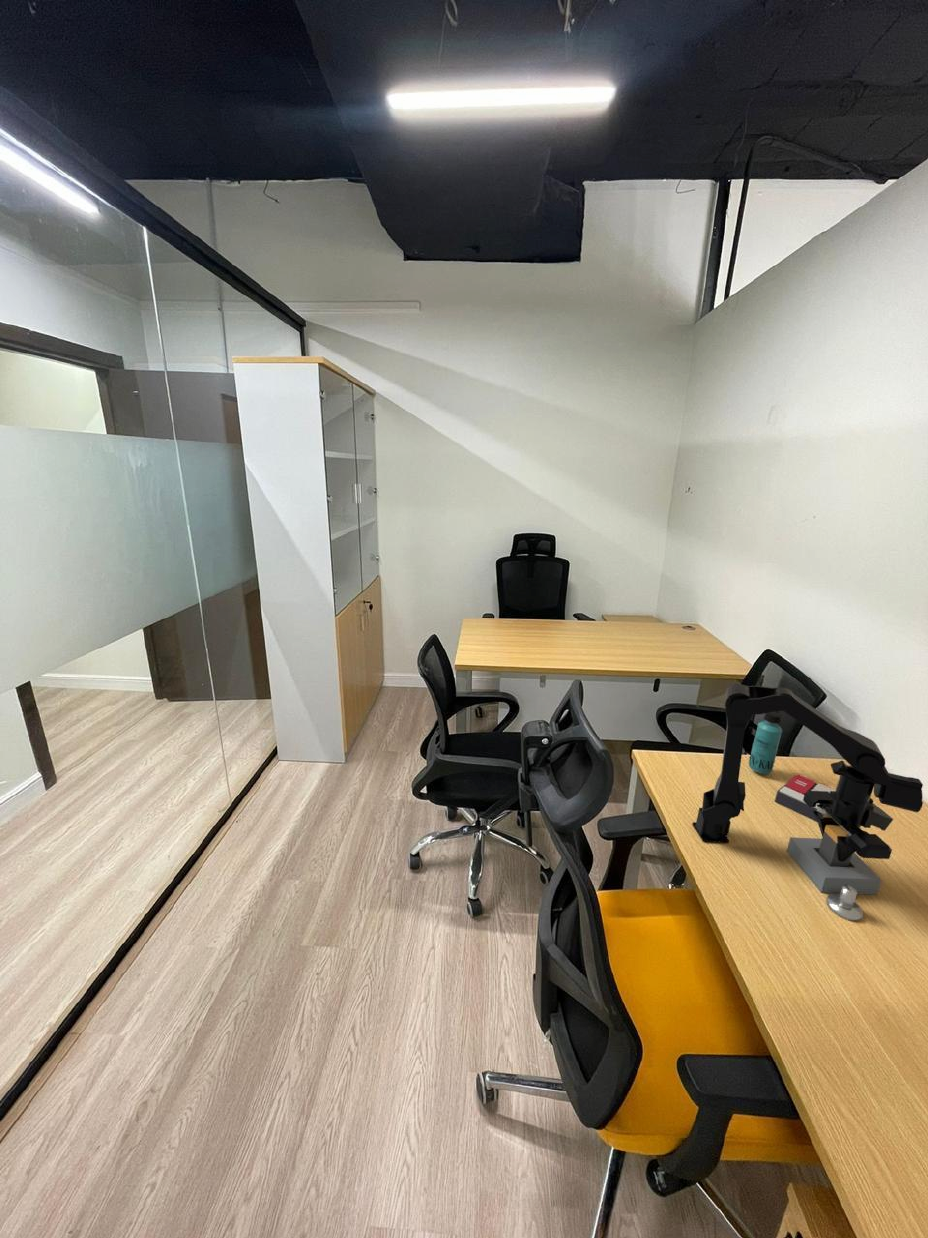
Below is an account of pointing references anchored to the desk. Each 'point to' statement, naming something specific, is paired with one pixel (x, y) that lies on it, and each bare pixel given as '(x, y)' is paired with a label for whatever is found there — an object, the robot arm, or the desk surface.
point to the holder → (832, 869)
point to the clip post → (845, 904)
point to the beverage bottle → (766, 744)
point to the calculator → (799, 795)
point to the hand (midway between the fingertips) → (834, 853)
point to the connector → (832, 846)
